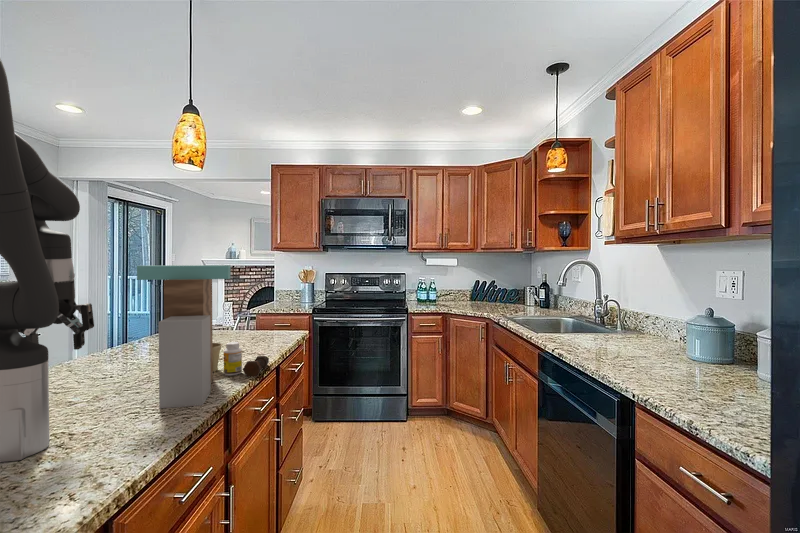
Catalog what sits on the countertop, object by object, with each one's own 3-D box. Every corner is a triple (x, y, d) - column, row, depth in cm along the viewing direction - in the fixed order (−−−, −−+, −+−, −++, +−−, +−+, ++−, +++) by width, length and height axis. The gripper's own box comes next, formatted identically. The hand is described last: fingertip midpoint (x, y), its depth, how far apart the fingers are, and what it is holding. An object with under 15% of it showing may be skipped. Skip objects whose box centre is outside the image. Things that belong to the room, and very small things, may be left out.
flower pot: (192, 368, 139) (192, 344, 139) (222, 365, 143) (222, 341, 143) (191, 376, 131) (190, 349, 131) (222, 372, 135) (222, 346, 134)
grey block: (202, 405, 104) (201, 320, 104) (159, 408, 102) (158, 321, 102) (210, 392, 114) (210, 315, 114) (171, 395, 112) (170, 316, 111)
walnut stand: (203, 392, 115) (203, 279, 114) (164, 394, 112) (163, 280, 112) (212, 379, 126) (212, 278, 126) (177, 382, 124) (176, 278, 123)
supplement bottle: (224, 372, 135) (224, 341, 135) (242, 370, 137) (242, 340, 137) (222, 376, 130) (222, 345, 130) (241, 375, 131) (241, 344, 131)
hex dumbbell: (266, 370, 145) (253, 381, 130) (254, 363, 144) (240, 373, 129) (275, 356, 145) (263, 365, 130) (262, 349, 145) (249, 357, 130)
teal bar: (228, 279, 119) (228, 265, 119) (137, 279, 114) (136, 265, 114) (230, 278, 123) (230, 265, 123) (142, 279, 118) (142, 265, 117)
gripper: (2, 281, 85) (7, 356, 86) (80, 280, 88) (84, 352, 90) (25, 277, 92) (29, 346, 94) (97, 276, 96) (100, 343, 97)
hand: (56, 349), depth 92 cm, fingers open, 8 cm apart
